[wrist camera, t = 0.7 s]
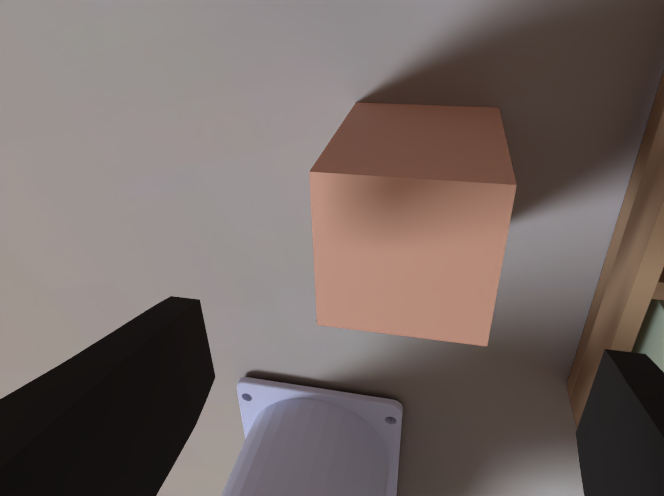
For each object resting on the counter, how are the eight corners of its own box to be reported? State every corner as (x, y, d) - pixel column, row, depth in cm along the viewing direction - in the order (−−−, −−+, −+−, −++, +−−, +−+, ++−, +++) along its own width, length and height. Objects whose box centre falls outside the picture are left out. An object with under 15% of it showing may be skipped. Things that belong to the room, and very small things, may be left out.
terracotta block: (479, 233, 18) (486, 346, 13) (355, 222, 19) (317, 324, 14) (498, 107, 15) (516, 185, 10) (356, 102, 16) (309, 171, 11)
